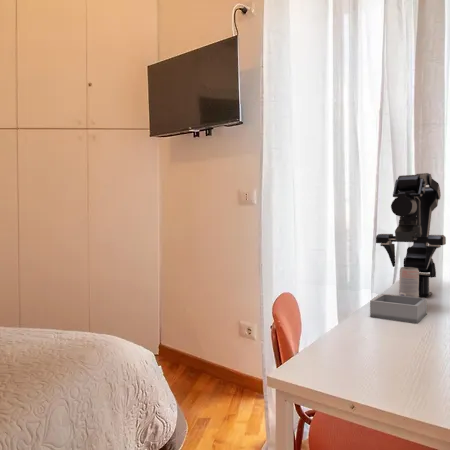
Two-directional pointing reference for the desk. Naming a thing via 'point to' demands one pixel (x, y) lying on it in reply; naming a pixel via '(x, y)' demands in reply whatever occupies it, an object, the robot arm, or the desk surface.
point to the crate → (398, 308)
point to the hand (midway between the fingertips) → (409, 267)
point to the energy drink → (409, 282)
